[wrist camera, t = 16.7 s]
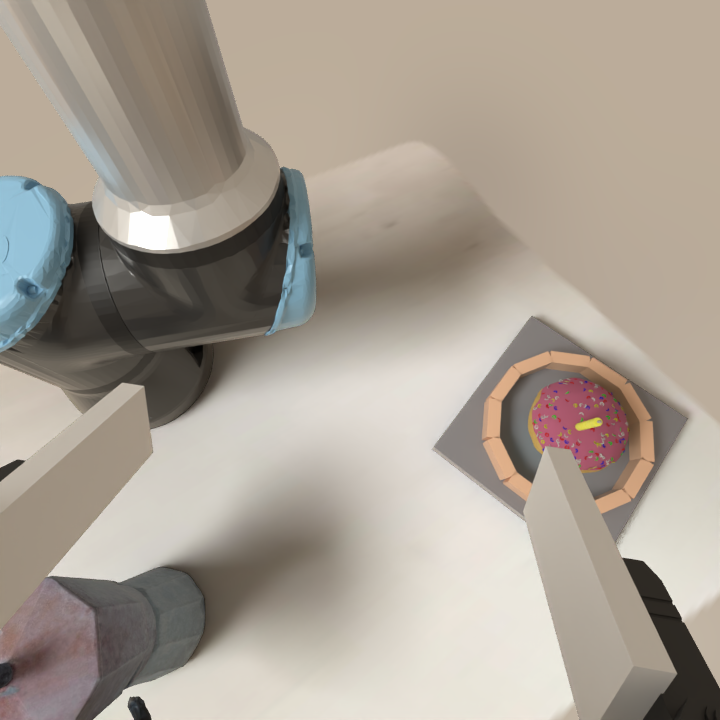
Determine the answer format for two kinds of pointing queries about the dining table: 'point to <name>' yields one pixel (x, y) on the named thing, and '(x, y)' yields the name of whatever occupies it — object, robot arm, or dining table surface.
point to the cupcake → (579, 423)
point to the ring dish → (514, 444)
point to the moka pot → (96, 643)
